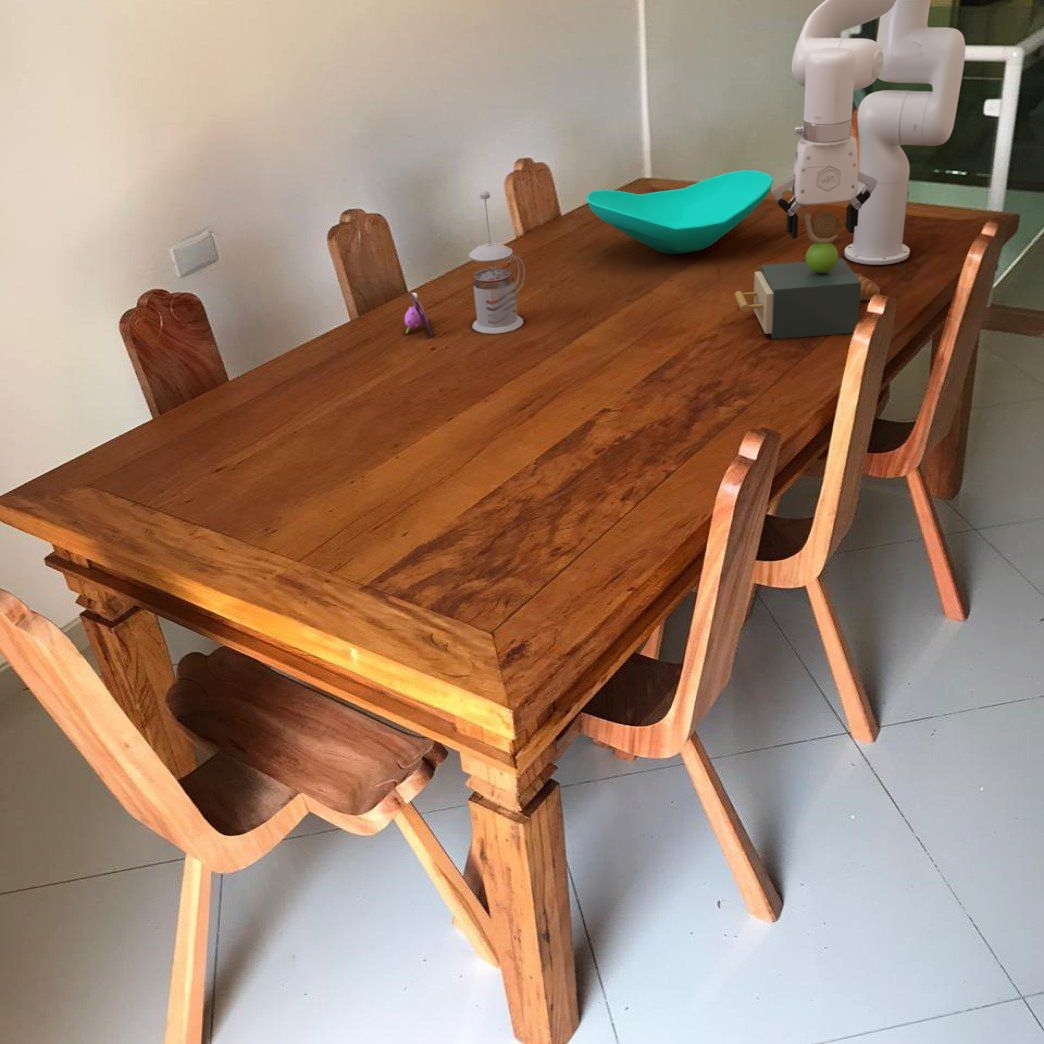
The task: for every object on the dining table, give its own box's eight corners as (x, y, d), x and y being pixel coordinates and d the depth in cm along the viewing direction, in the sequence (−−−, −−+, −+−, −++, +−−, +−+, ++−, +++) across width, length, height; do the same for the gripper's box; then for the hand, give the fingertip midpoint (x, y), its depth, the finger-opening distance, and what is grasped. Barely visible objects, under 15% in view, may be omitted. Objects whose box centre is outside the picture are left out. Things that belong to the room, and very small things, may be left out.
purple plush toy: (420, 304, 202) (414, 288, 209) (395, 317, 202) (390, 301, 210) (436, 335, 205) (430, 318, 213) (412, 347, 206) (406, 330, 213)
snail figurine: (795, 269, 194) (798, 201, 188) (831, 265, 194) (835, 197, 188) (804, 279, 189) (808, 210, 183) (841, 276, 189) (846, 206, 183)
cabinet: (772, 339, 191) (774, 289, 187) (759, 313, 202) (760, 265, 197) (857, 332, 191) (861, 282, 186) (839, 306, 202) (842, 258, 197)
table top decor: (745, 219, 250) (746, 159, 243) (793, 255, 227) (796, 190, 220) (575, 243, 246) (572, 183, 239) (606, 282, 222) (603, 217, 215)
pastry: (886, 294, 205) (888, 274, 203) (867, 306, 201) (869, 286, 199) (842, 285, 211) (843, 265, 209) (822, 296, 207) (823, 276, 205)
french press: (462, 324, 210) (446, 193, 197) (510, 307, 215) (498, 178, 202) (491, 337, 203) (477, 202, 190) (541, 319, 208) (530, 187, 195)
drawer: (742, 335, 192) (743, 295, 188) (732, 311, 201) (732, 273, 198) (843, 327, 191) (846, 287, 187) (827, 304, 201) (830, 265, 197)
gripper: (778, 141, 176) (774, 245, 186) (887, 131, 176) (878, 235, 185) (769, 130, 183) (766, 231, 192) (874, 120, 182) (866, 221, 191)
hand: (821, 233), depth 188 cm, fingers open, 9 cm apart
